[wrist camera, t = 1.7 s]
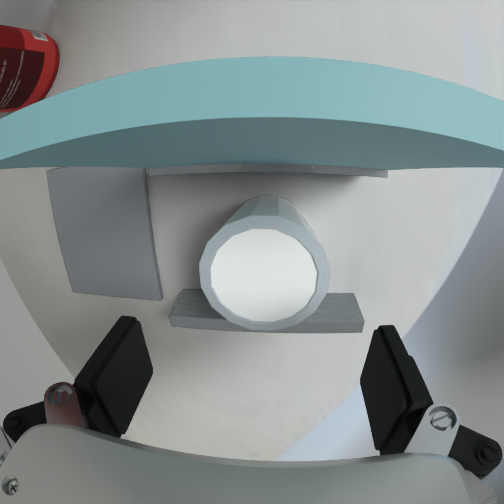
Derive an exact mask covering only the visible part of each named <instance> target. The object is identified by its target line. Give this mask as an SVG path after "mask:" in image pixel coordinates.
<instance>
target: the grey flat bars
mask: <svg viewBox="0 0 504 504" xmlns="http://www.w3.org/2000/svg"><path fill="white" fill-rule="evenodd" d="M220 172H293V173H322V174H341V175H357V176H370V177H382V178H387V174H388V170H384V169H373V168H361V167H347V166H330V165H307V164H211V165H188V166H171V167H157V168H148V174H149V176H155V175H171V174H191V173H220ZM169 318H170V323H171V326H173V327H184V328H196V329H210V330H225V331H243V332H269V333H359V332H362V330H363V326H364V322H365V321H364V319H363V316H362V313H361V311H360V308H359V305H358V303H357V300H356V297H355V295H354V294H326V295H325V297H324V298H323V300H322V302H321V303H320V305H319V306H318V308H317V309H316V311H315V312H314V313H312V314H311V315H309V316H308V317H307V318H305V319H304V320H302V321H301V322H300V323H298V324H297V325H293V326H290V327H286V328H283V329H279V330H275V331H268V330H251V329H248V328H245V327H243V326H240V325H237V324H235V323H232V322H229V321H228V320H227V319H226V318H225V317H223V316H222V315H221V314H220V313H219V312H217V311H216V310H215V309H214V308H213V307H212V306H211V304H210V303H209V301H208V299H207V297H206V295H205V294H204V292H203V290H191V289H183V291H182V292H181V294H180V296H179V298H178V300H177V302H176V303H175V305H174V307H173V309H172V311H171V313H170V315H169Z"/></svg>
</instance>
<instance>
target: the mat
mask: <svg viewBox="0 0 504 504" xmlns="http://www.w3.org/2000/svg"><path fill="white" fill-rule="evenodd" d="M46 172H47V179H48V186H49V193H50V199H51V205H52V211H53V216H54V221H55V226H56V230H57V235H58V239H59V244H60V248H61V252H62V256H63V259H64V263H65V267H66V270H67V274H68V277H69V281H70V284H71V287H72V291H73V292H77V293H86V294H95V295H104V296H113V297H123V298H134V299H145V300H157V301H161V300H162V299H163V294H162V289H161V283H160V277H159V272H158V266H157V259H156V253H155V246H154V240H153V232H152V225H151V217H150V209H149V200H148V191H147V181H146V169H145V168H127V167H62V168H57V169H52V170H48V171H46Z"/></svg>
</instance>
